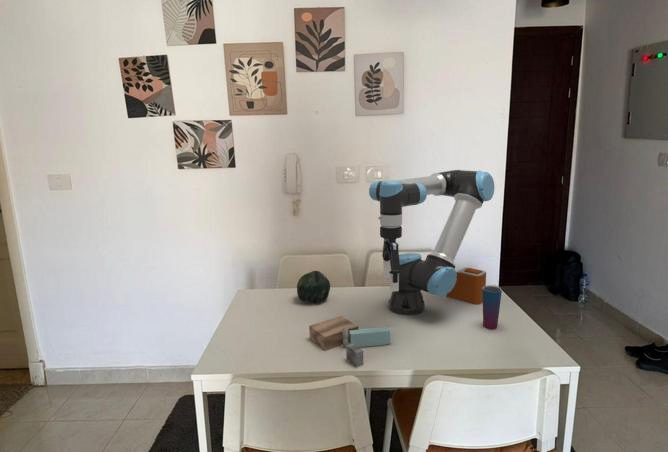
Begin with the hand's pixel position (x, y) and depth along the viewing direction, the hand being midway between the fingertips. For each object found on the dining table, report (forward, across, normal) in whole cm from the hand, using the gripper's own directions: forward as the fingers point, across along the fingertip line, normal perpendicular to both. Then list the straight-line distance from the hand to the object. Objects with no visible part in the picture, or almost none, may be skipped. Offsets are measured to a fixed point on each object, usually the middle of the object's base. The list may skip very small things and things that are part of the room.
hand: (390, 284), depth 154 cm
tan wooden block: (+20, +6, -17) cm, 27 cm away
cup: (+20, -3, +39) cm, 44 cm away
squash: (+20, -39, -27) cm, 51 cm away
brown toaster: (+20, -32, +40) cm, 55 cm away
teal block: (+20, +5, -8) cm, 22 cm away
